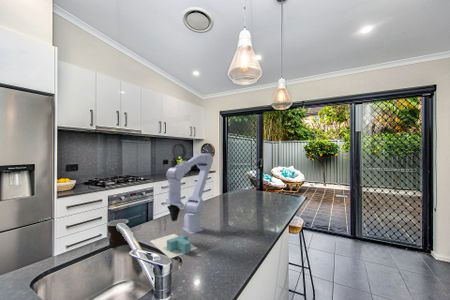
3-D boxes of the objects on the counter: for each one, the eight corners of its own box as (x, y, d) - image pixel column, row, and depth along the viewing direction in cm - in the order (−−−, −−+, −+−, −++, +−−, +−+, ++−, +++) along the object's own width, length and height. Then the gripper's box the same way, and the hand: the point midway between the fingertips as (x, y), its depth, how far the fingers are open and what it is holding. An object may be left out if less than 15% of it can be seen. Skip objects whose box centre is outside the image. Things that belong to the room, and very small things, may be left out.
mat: (149, 241, 92) (149, 240, 92) (174, 234, 101) (174, 233, 101) (170, 260, 76) (170, 258, 76) (198, 249, 85) (198, 248, 85)
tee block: (166, 249, 84) (166, 240, 84) (184, 242, 90) (184, 234, 91) (178, 257, 78) (178, 247, 78) (196, 249, 84) (196, 240, 84)
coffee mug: (108, 241, 92) (109, 220, 92) (129, 239, 95) (129, 218, 95) (103, 253, 81) (103, 229, 81) (125, 249, 84) (126, 226, 84)
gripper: (160, 191, 96) (160, 218, 96) (174, 195, 86) (173, 226, 85) (173, 189, 101) (173, 215, 101) (188, 193, 90) (187, 223, 90)
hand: (174, 220), depth 93 cm, fingers closed
